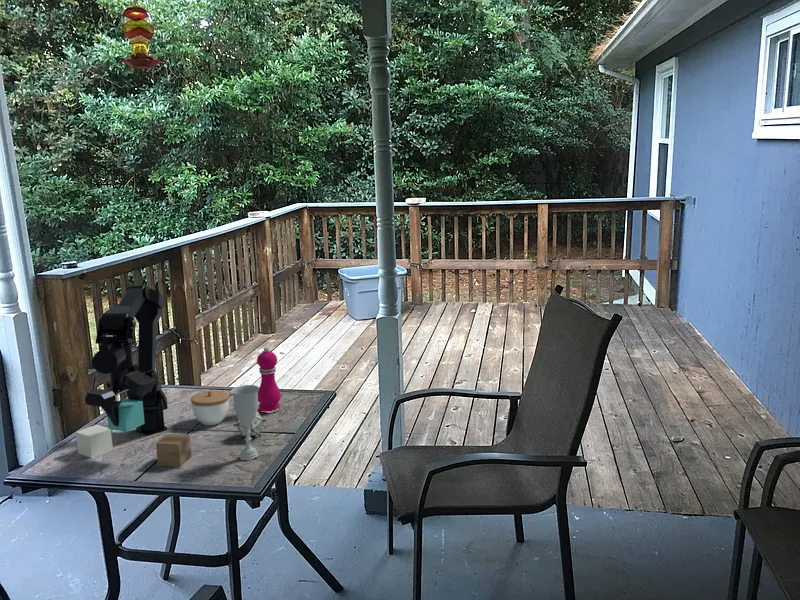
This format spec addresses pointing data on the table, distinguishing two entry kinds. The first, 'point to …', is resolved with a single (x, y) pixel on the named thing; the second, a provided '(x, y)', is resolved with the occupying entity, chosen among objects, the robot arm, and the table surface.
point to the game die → (251, 426)
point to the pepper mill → (268, 381)
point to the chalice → (246, 414)
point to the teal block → (128, 415)
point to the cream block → (94, 441)
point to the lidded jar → (210, 406)
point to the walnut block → (173, 450)
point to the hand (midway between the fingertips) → (126, 421)
